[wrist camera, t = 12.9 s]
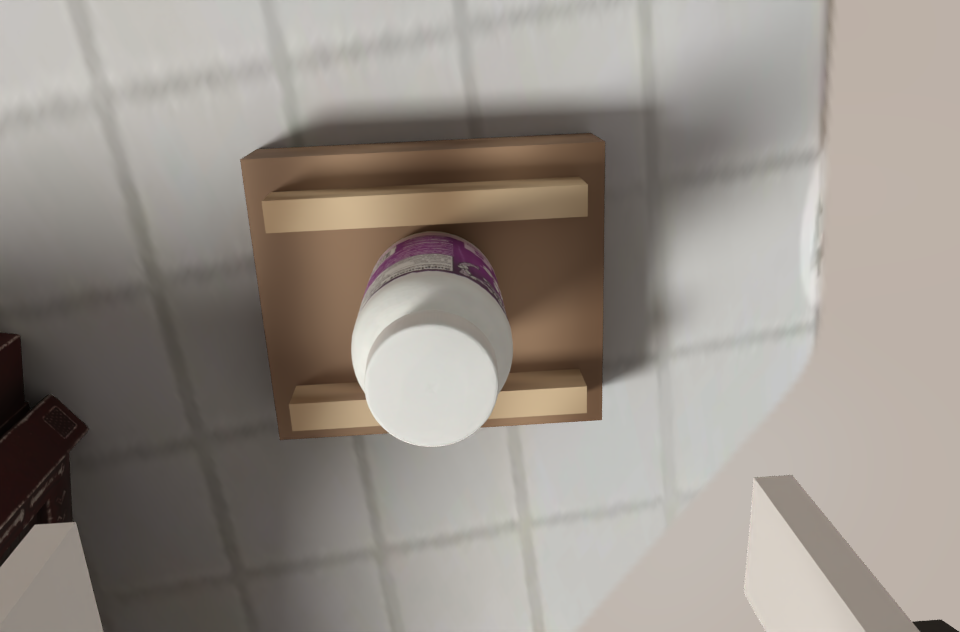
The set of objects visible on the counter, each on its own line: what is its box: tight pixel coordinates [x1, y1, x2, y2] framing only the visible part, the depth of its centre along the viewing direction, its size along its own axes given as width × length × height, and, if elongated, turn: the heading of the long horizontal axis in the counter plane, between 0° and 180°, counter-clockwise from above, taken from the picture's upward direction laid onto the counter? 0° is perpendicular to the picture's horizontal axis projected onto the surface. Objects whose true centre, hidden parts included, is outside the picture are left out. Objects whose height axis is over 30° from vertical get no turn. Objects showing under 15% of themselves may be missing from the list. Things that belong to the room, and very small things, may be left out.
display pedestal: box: [240, 133, 605, 440], centre depth 33 cm, size 14×12×5 cm
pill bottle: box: [351, 231, 513, 447], centre depth 28 cm, size 5×5×10 cm
